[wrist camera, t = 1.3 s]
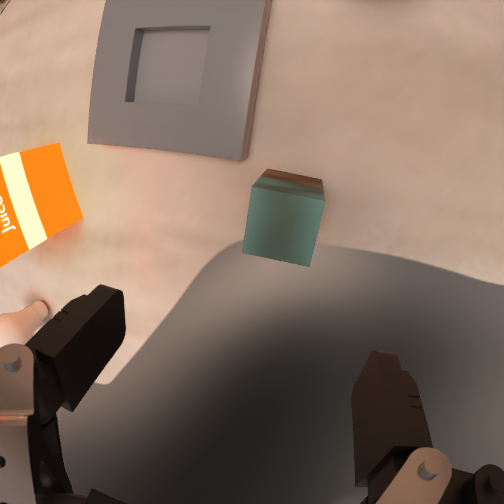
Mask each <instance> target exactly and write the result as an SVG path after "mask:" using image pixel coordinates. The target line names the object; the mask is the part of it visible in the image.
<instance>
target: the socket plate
mask: <svg viewBox="0 0 504 504" xmlns="http://www.w3.org/2000/svg"><path fill="white" fill-rule="evenodd" d="M271 3H272V0H106V3H105V7H104V12H103V16H102V21H101V27H100V32H99V38H98V43H97V50H96V56H95V63H94V71H93V79H92V88H91V98H90V109H89V123H88V142H87V144H102V145H115V146H127V147H138V148H148V149H157V150H166V151H175V152H183V153H190V154H198V155H205V156H212V157H219V158H226V159H232V160H238V161H241V160H242V159H244V158H246V157H247V156H248V149H249V142H250V136H251V129H252V122H253V116H254V109H255V102H256V96H257V90H258V83H259V77H260V70H261V64H262V58H263V52H264V45H265V39H266V33H267V27H268V21H269V15H270V9H271Z"/></svg>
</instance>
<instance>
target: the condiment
mask: <svg viewBox="0 0 504 504" xmlns="http://www.w3.org/2000/svg"><path fill="white" fill-rule="evenodd" d="M9 1H10V0H0V13H1V12H2V10H3V9H4V8H5V6H6V5H7V3H8V2H9Z"/></svg>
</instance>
